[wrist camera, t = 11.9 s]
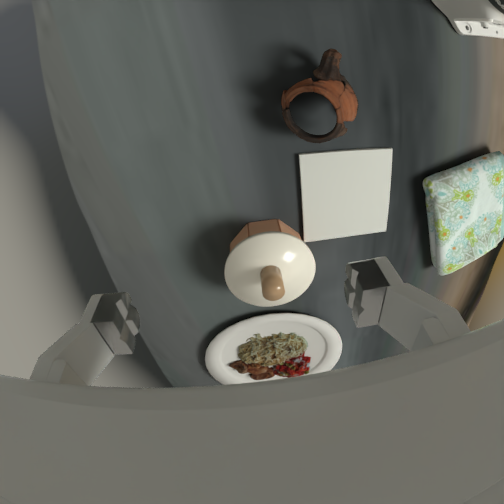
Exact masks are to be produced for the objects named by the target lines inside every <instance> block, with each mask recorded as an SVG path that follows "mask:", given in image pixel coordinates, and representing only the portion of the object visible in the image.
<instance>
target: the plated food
mask: <svg viewBox="0 0 504 504" xmlns="http://www.w3.org/2000/svg"><path fill="white" fill-rule="evenodd" d="M341 352H342V341H341V338H340V335H339V333H338V332H337V331H336V329H335V328H334V327H333V326H331V325H330V324H329V323H327V322H326V321H323V320H321V319H319V318H317V317H313V316H309V315H305V314H297V313H271V314H266V315H260V316H255V317H252V318H249V319H245V320H242V321H240V322H237V323H235V324H233V325H231V326H229V327H227V328H226V329H224V330H223V331H222V332H220V333H219V334H217V336H216V337H215V338H214V339H213V340H212V341H211V342H210V344H209V346H208V348H207V350H206V355H205V363H206V367H207V369H208V371H209V373H210V374H211V375H212V376H213V377H214V378H215V379H216V380H217V381H219V382H220V383H222V384H223V385H230V384H241V383H250V382H259V381H268V380H276V379H283V378H290V377H296V376H303V375H309V374H315V373H320V372H326V371H330V370H331V369H332V368H333V367H334V366H335V364H336V363H337V361H338V360H339V358H340V355H341Z"/></svg>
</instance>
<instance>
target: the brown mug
mask: <svg viewBox="0 0 504 504" xmlns="http://www.w3.org/2000/svg"><path fill="white" fill-rule="evenodd" d="M341 56H342V55H341V54H340V53H339V52H338V51H337V50H335V49H329V50H327V51H325V52H324V54H323V56H322V59H321V62H320V66H319V68H317V69H315V70H314V71H313V74H314V76H315V78H317V79H319V80H320V81H317V82H313V80H312V78H308V79H305V80H303V81H300V82H298V83H296V84H295V85H294V86H292V87H290V88H289V89H288V91H287V90H284V91H283V94H282V99H281V105H282V111H283V112H282V115H283V118H284V120H285V122H286V124H287V126H288V128H289V129H290V130H291V131H292V132H293V133H294V134H296V135H297V136H298V137H300V138H301V139H304V140H306V141H308V142H312V143H322V142H327V141H330V140H332V139H334V138H337V137H339V136H343V135H344V134H345V133H346V132H347V128H345V126H344V122H343V121H353V120H354V118H355V117H356V114H357V110H358V100H357V97H356V95H355V92H354V91H353V88H352V87H351V85H350V84H349V82H348V81H347V80H346V79H345V77H344V76H342V75H341V74H340V73H339V62H340V59H341ZM303 92H315V93H318V94H321V95H322V96H324V97H326V98H327V99H328V100H329V101H330V102H331V103H332V105H333V106H334V108H335V111H336V114H337V123H336V125H335V127H334V129H333V130H332V131H331V132H329V133H327V134H325V135H312V134H309V133H307V132H305V131H303V130H302V129H301V128H299V127H298V126H297V125H296V123H295V122H294V121H293V119H292V116H291V113H290V109H289V103H290V102H291V101H292V100H293V99H294V97H295V96H297V95H298V94H300V93H303Z"/></svg>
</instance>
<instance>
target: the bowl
mask: <svg viewBox="0 0 504 504" xmlns="http://www.w3.org/2000/svg"><path fill="white" fill-rule="evenodd" d="M248 224H249V225H248ZM248 224H246V225H245V226H244V228H243V229H242V230H241V231H240V232H239V233H238V235H237V236H236V237H235V238H234V239H233V241H232V242H231V243H230V252H231V251H232V249H233V248H234V247H235V246H236V245H237V244H238V243H240V242H241V241H242V240H244V239H246V238H247V237H249V236H252V235H254V234H258V233H262V232H269V231H278V232H284V233H288V234H291V235H293V236H296V237H297V238H299V239H301V237H300V235H299V233H297V232H296V231H295V230H293V229H292V228H290V227H289V226H287V225H286V224H284V223H283V222H282V221H280V220H279V219H278V220H277V219H272V220H265V221H258V222H250V223H248Z"/></svg>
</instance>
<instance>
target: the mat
mask: <svg viewBox="0 0 504 504" xmlns="http://www.w3.org/2000/svg"><path fill="white" fill-rule="evenodd" d="M299 167H300V181H301V197H302V216H303V237H304V242H310V241H318V240H325V239H332V238H339V237H347V236H354V235H361V234H369V233H376V232H383V231H386V227H387V218H388V208H389V197H390V185H391V169H392V148H370V149H352V150H336V151H324V152H312V153H302V154H299Z"/></svg>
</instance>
